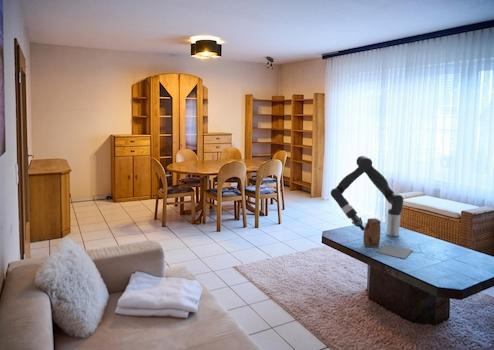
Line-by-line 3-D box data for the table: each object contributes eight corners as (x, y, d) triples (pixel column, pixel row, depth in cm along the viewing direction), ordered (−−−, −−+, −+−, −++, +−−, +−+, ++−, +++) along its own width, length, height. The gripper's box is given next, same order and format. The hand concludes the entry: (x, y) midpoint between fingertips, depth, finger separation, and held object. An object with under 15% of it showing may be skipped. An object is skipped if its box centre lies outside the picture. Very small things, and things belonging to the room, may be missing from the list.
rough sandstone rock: (374, 243, 301) (376, 217, 298) (380, 246, 294) (382, 220, 291) (361, 244, 298) (363, 218, 294) (367, 248, 291) (369, 221, 287)
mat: (384, 244, 299) (384, 243, 299) (412, 251, 287) (412, 250, 287) (375, 252, 283) (375, 251, 283) (404, 259, 271) (404, 258, 271)
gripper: (349, 209, 295) (364, 229, 290) (356, 206, 306) (371, 225, 301) (341, 215, 299) (356, 234, 294) (349, 212, 310) (363, 230, 305)
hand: (363, 229), depth 298 cm, fingers closed
